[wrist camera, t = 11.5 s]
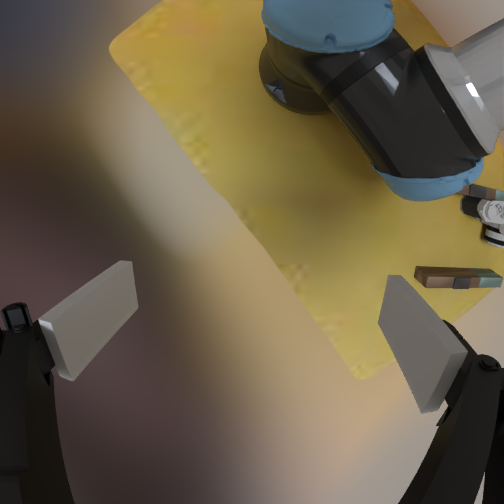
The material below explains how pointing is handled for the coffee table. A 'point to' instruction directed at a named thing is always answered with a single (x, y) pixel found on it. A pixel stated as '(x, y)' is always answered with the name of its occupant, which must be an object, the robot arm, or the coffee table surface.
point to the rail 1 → (482, 192)
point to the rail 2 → (457, 277)
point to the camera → (487, 217)
